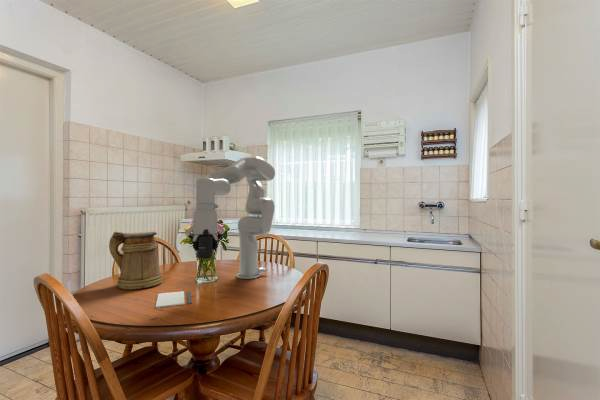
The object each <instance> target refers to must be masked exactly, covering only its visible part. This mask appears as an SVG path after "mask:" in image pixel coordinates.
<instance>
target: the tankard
mask: <svg viewBox="0 0 600 400" xmlns="http://www.w3.org/2000/svg"><path fill="white" fill-rule="evenodd" d="M156 235H158V234H157V232H156V231H144V232H122V231H114V232H113V233H112V234H111V237H110V240H109V244H108V248H109V252H110V254H111V257H112V258H113V260H114V262H115V263H116V264H117V266H118V269H119V272H120V274H119V276H118V278H117V287H118V288H119V289H120V290H139V289H140V290H142V289H146V288H152V287H154V286H157V285H160V284H161V283H162V282H163V281H164V279H163V275H162V273H161V271H160V270H161V269H160V264H159V259H158V254H157V247H158V244H157V241H156V238H155V236H156ZM120 245H122V246H121V251H122V253H121V252H120V250H119V246H120Z"/></svg>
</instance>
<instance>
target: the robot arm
mask: <svg viewBox="0 0 600 400" xmlns="http://www.w3.org/2000/svg"><path fill="white" fill-rule="evenodd" d="M275 170H276V169H275V168H274V167H273V165H272V164H271V163H269V162H268V161H266V159H264V158H263V157H260V156H245V157H241V158H240V159H238V160H237V161H235V162H233V163H232V164H231V165H229V166H228V167H225V168H222V169H220V170H217V171H214V172H211V173H210V174H208V175H206V176H205V177H198V178H197V179H196V181H195V210H193V215H192V216H193V217H192V224H191V226H190V227H189V228H187V229H186V230H185V231H184V234H186V236H187V237H188V238H189V239H191V240H192V241H193V242H192V248H193V250H194V251H195V252H197V237H198V236H199V235H202V233H203V231H204V229H207V230H208V232H209V233H210V234H211V235H213V237H214V251H216V249H217V248H218V240H219V239H220V238H221V237H222V236H223V234H224V233H226V229H224V228H222V227H221V226H220V225H219V222H218V219H219V218H218V213H217V210H216V209H217V208H219V204H216V196H217V197H218V196H219V197H221V196H222V197H223V196H226V195H228V194H229V193H230V192H231V189H232V187H231V185H232V184H237V183H239V182H241V181H242V180H243V179H244V178H246V181H247V184H248V189H249V190H248V195H247V199H246V202H245V208H244V210H245V212H246V214H247V215H250V216H247V215H246V216H242V217H240V219H238V222H237V230H238V237H239V265H238V267H239V268H238V269H239V272H238V273H236V278H238V279H240V280H241V279H242V280H252V279H253V278H254V279H257V277H258V278H259V277H261V275H262V274H261V273H266V272H267V267H259V264H258V259H259V242H258V239H257V237H256V236H266V235H268V234H269V233H270V232H271V229H272V224H273V220H274V214H275V210H276V209H275V207H276V206H275V201H274V200H273V199H272V198H269V197H264V196H265V194H266V193H265V191H266V190H265V188H264V186H263V184H262V183H261V182H265V181H266V182H267V181H268V182H270V181H273V180H274V178H275V175H276V171H275ZM219 231H220V232H219ZM191 232H192V234H193V235H192V234H191Z"/></svg>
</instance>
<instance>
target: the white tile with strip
mask: <svg viewBox="0 0 600 400" xmlns="http://www.w3.org/2000/svg"><path fill="white" fill-rule="evenodd" d="M186 295H187V297H186V298H187V305H192V304H193V300H192V299H193V298H192V291H191V290H188V291H186ZM182 305H183V306H184V305H185V291H173V292H161V293H158V294H157V299H156V303H155V309H158V308H165V307H166V308H167V307H175V306H182Z"/></svg>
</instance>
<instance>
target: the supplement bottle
mask: <svg viewBox="0 0 600 400" xmlns="http://www.w3.org/2000/svg"><path fill="white" fill-rule="evenodd" d="M196 241H197V251H196V258H197V259H205V260H206V259H211V258H213V257H214V251H215V250H214V237H213V235H212V234H210V233H209V232H208V230H207V229H204V231H203V233H202V235H198V237H197V239H196Z"/></svg>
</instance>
